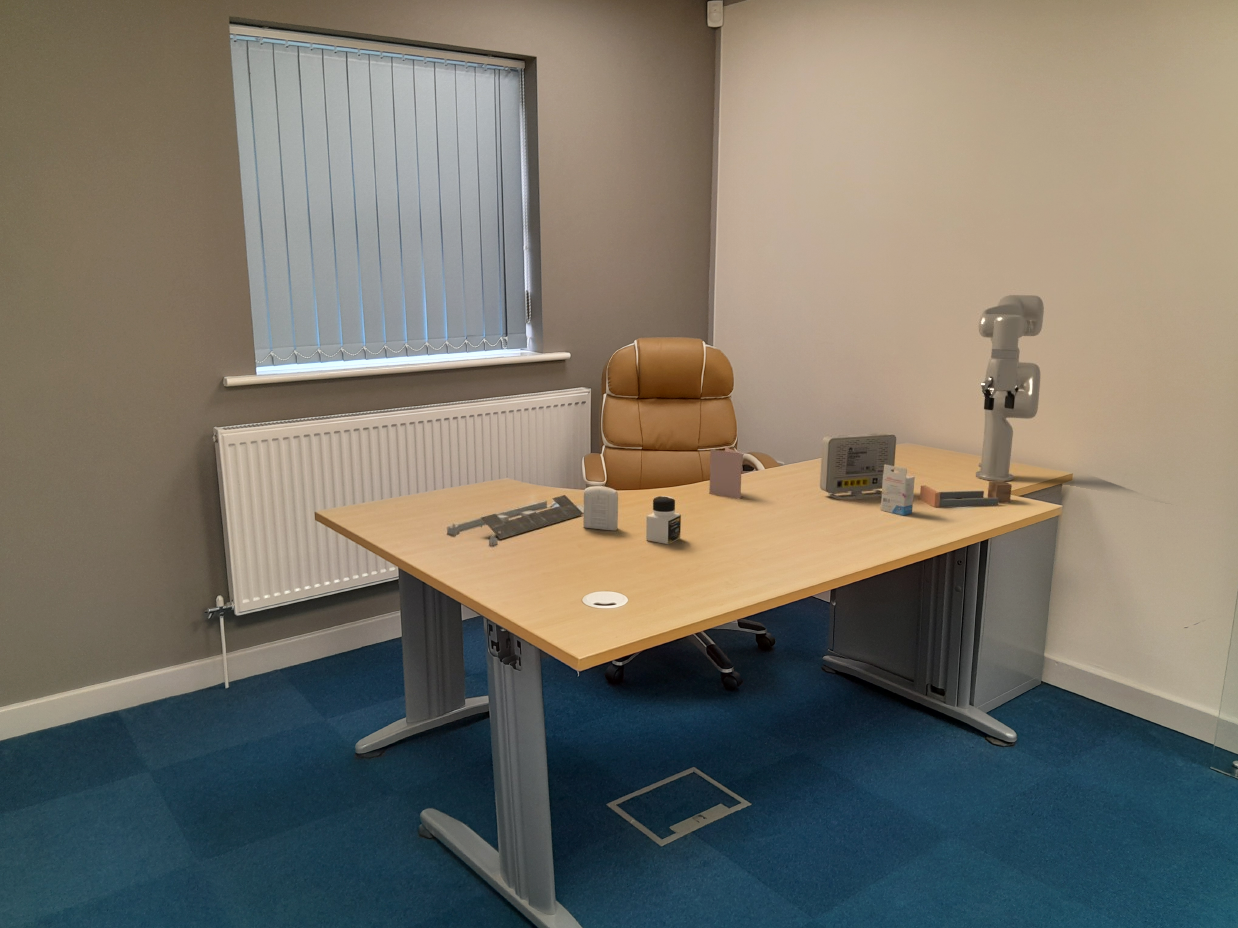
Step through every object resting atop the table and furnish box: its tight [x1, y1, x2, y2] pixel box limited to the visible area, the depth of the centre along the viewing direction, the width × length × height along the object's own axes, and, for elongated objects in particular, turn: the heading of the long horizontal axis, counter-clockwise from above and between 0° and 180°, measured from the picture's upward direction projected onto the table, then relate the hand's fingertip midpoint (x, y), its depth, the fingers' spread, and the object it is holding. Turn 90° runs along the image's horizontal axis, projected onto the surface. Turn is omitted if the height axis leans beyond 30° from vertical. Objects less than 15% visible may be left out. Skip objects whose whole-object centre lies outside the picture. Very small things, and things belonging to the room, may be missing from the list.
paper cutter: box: [446, 494, 584, 547], centre depth 271 cm, size 18×45×6 cm, turn 140°
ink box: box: [880, 465, 916, 516], centre depth 284 cm, size 8×5×15 cm, turn 39°
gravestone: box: [582, 485, 619, 531], centre depth 265 cm, size 10×4×12 cm, turn 72°
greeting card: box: [708, 446, 743, 499], centre depth 303 cm, size 11×7×15 cm, turn 22°
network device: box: [819, 432, 897, 500], centre depth 304 cm, size 26×9×20 cm, turn 108°
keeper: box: [986, 480, 1013, 504], centre depth 299 cm, size 5×5×6 cm
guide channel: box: [919, 485, 1000, 508], centre depth 297 cm, size 10×22×4 cm, turn 98°
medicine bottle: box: [645, 495, 682, 545], centre depth 255 cm, size 7×7×12 cm
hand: (998, 409), depth 294 cm, fingers open, 9 cm apart
